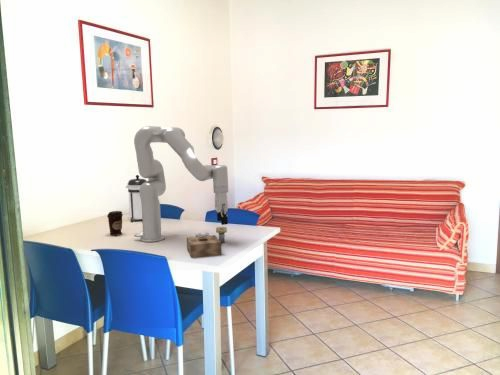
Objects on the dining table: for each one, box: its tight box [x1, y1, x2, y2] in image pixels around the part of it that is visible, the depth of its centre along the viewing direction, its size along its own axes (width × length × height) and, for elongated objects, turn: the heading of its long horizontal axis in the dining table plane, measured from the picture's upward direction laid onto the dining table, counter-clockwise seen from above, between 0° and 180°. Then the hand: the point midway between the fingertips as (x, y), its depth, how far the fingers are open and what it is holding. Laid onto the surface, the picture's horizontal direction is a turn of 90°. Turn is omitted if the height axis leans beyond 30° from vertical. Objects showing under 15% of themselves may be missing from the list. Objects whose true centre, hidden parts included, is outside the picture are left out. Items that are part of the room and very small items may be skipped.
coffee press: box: [125, 174, 147, 223], centre depth 269 cm, size 17×16×30 cm
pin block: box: [186, 234, 222, 259], centre depth 193 cm, size 14×14×6 cm
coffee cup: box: [106, 210, 124, 237], centre depth 230 cm, size 9×8×13 cm
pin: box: [215, 226, 228, 244], centre depth 211 cm, size 6×6×8 cm
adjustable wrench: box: [195, 232, 210, 237], centre depth 215 cm, size 25×6×2 cm, turn 165°
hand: (222, 222), depth 210 cm, fingers open, 9 cm apart
